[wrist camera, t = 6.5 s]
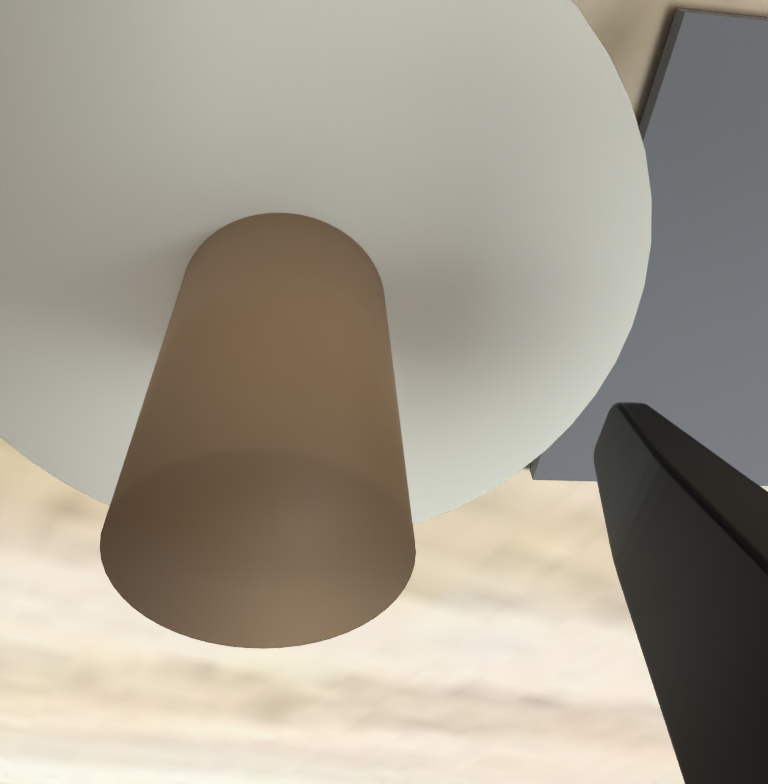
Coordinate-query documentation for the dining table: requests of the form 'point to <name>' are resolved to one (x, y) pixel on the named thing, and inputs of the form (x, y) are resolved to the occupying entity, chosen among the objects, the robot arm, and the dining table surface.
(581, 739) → the dining table surface
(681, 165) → the mat
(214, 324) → the lid
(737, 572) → the robot arm
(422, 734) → the dining table surface
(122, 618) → the dining table surface
